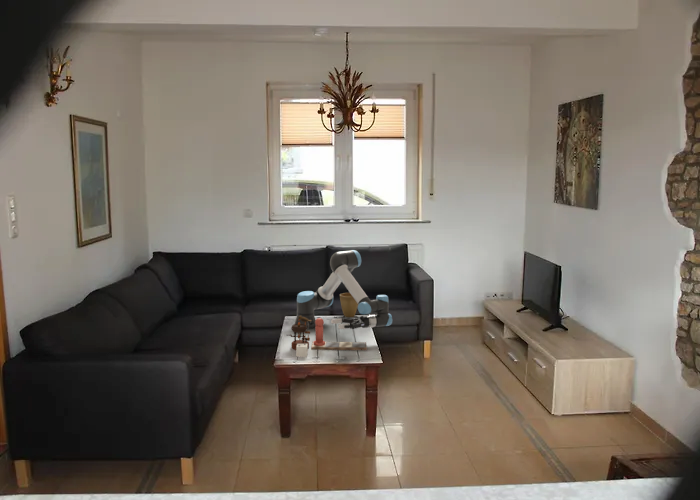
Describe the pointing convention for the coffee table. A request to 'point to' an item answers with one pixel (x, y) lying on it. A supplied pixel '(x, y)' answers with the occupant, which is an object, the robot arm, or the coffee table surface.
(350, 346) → the board
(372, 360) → the coffee table surface
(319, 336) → the pawn
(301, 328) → the music box
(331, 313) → the coffee table surface
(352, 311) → the plant pot
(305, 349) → the die
